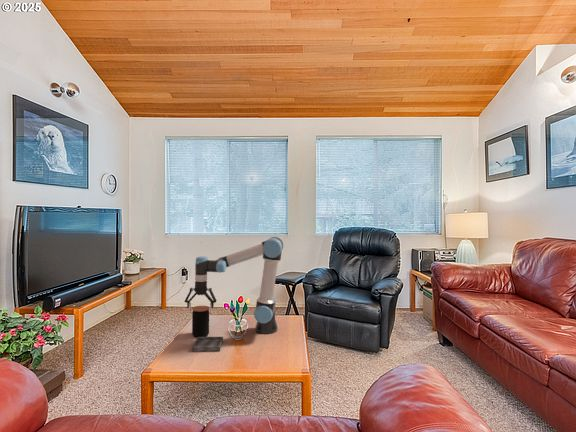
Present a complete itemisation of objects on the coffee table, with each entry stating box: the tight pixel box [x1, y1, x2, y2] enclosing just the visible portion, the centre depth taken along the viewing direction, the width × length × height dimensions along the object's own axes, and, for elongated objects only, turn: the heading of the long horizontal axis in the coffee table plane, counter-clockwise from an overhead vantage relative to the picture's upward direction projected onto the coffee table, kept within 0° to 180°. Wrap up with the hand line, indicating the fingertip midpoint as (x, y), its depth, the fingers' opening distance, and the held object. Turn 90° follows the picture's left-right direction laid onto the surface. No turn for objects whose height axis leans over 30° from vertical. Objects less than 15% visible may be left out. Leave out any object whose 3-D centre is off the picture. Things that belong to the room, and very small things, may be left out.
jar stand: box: [191, 336, 224, 353], centre depth 202 cm, size 16×16×3 cm
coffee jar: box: [191, 305, 210, 339], centre depth 219 cm, size 11×11×18 cm
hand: (200, 313), depth 219 cm, fingers open, 13 cm apart
